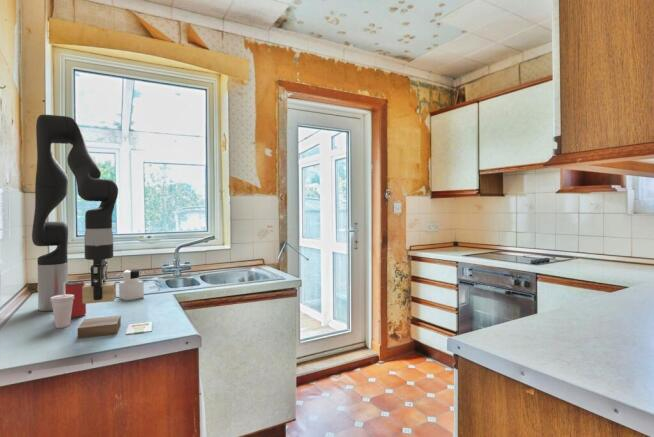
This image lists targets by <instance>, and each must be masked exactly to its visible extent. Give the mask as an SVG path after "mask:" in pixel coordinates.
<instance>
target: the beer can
mask: <svg viewBox="0 0 654 437" xmlns="http://www.w3.org/2000/svg"><path fill="white" fill-rule="evenodd" d="M85 284H86V283H85V281H82V280H76V281H68V282H67V283H65V292H66V294H73V295H74V299H73V305H72V313H71V319H76V318H81V317H83V316H85V315H86V314H87V304H83V298H82V287H83V286H84V285H85Z"/></svg>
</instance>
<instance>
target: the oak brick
mask: <svg viewBox="0 0 654 437" xmlns="http://www.w3.org/2000/svg"><path fill="white" fill-rule="evenodd" d="M84 284H85V285H84V286H83V287H82V298H83V304H86V305H87V304H96V303H98V304H99V303H106V302H107V303H108V302H115V299H116V298H117V282H116V281H107V282H103V286H102V299H101V300H94V299H93V287H91V282H90V283H84Z"/></svg>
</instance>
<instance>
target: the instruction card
mask: <svg viewBox="0 0 654 437" xmlns="http://www.w3.org/2000/svg"><path fill="white" fill-rule="evenodd" d="M152 329H153V321H147V322H139V323H130V324H129V323H128V326H127V328H126V331H125V335H126V336H127V335H136V334H142V333H143V334H144V333H149V332H151V333H152Z"/></svg>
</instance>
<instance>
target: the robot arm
mask: <svg viewBox="0 0 654 437" xmlns="http://www.w3.org/2000/svg"><path fill="white" fill-rule="evenodd" d="M35 124H36V125H35V133H36V134H35V135H36V137H35V138H36V156H37V157H36V172H35V185H34V186H35V190H34V196H35V198H34V199H35V200H34V214H33V221H32V222H33V224H32V230H31V240H32V243H33V245H34V246H37V247H52V246H53V247H55V246H56V248H55V249H54V250H53V251H50V252H48V253H46V254H43V255H41V256H38V257H37V303H38V304H37V308H38V309H37V310H38V311H39V312H49V311H52V312H53V307H52V301H50V298H51V297H53V296H57V295H63V283H67V282H69V277H68V276H69V271H68V270H69V269H68V243H69V242H68V240H69V227H68V224H67V223H66V222H64V221H47V219H48V217H49V215H50V214H51V213H52V212H53V210H55V209H56V208H57V206H59V205H60V204H61V202H63V201H64V199H65V198H66V197H67V194H68V182H69V177H68V174H67V173H66V171H65V169H63V167H62V166H61V165H60V163H59V161H57V159H56V158H55V156H54V155H53V152H52V144H70V145H72V147H71V149H70V151H69V153H68V155H67V160H66V161H67V165H68V167H69V169H70V171H71V172H72V174H73V176H74V178H75V181H76V187H77V194H78V196H79V197H80V198H81V199H82V200H84V201H86V202H100V204H99V206H98V207H97V208H91V209H87V210H86V211H85V214H84V222H85V224H84V225H85V226H84V227H85V228H84V229H85V230H84V259H85V260H88V261H93V262H92V265H90V269H89V270H90V283H91V287H93V299H94V300H101V299H102V286H103V282H108V266H109V265H108V261H106V260H110V259H112V258H113V257H114V234H113V212H114V209H115V206H116V205H115V204H116V201H117V199H118V194H119V188H118V185H117V183H116V182H115V181H114V180H112V179H109V178H108V179H107V178H101V175H102V173H101V170H100V168H99V166H98V164H97V163H96V161H95V160H94V159H93V157H92V155H91V154H90V152H89V149H88V147H87V144H86V141H85V139H84V136H83V133H82V131H81V128H80V126H79V125H78V123H77V121H76V120H75V119H74V118H73V117H71V116H67V115H56V114H55V115H54V114H40V115H38V117H37V119H36V123H35Z"/></svg>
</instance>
